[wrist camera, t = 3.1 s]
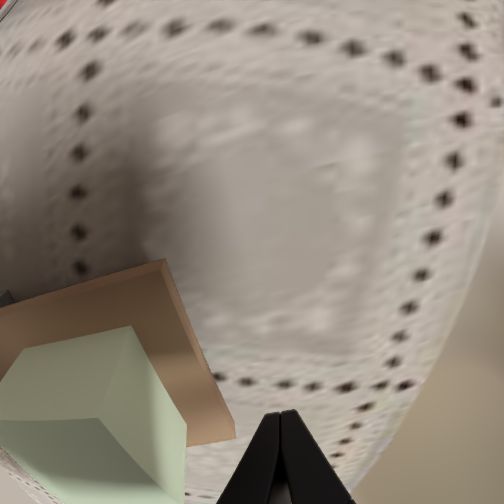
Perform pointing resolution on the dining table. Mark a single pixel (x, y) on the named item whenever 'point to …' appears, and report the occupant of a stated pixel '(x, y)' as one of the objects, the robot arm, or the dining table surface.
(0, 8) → the soda can
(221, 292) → the dining table surface
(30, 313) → the beam
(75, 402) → the block
